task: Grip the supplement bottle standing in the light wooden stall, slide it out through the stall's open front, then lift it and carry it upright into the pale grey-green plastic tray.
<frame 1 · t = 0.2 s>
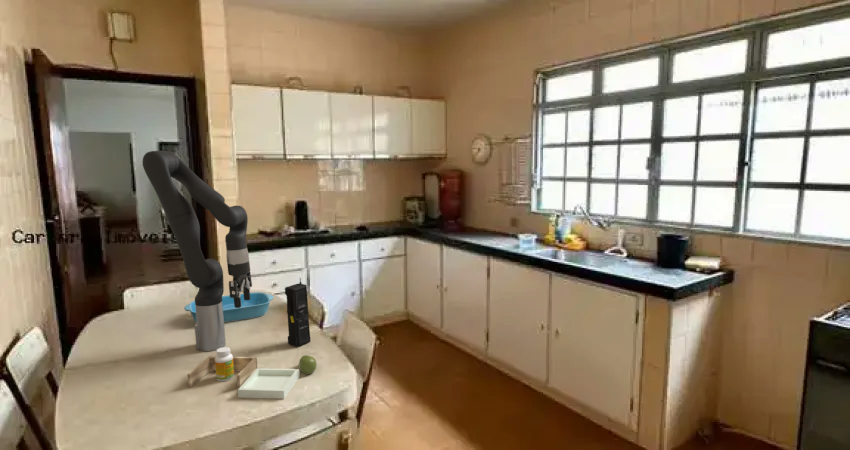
hand: (242, 303, 173), 17 cm above the table, tool pointing down, fingers open, 8 cm apart
pear: (307, 370, 158), on the table
plastic tray: (270, 386, 146), on the table
wooden stall: (223, 379, 151), on the table
supplement bottle: (225, 378, 153), on the table
casserole dish: (231, 316, 211), on the table
portable radio: (298, 344, 179), on the table
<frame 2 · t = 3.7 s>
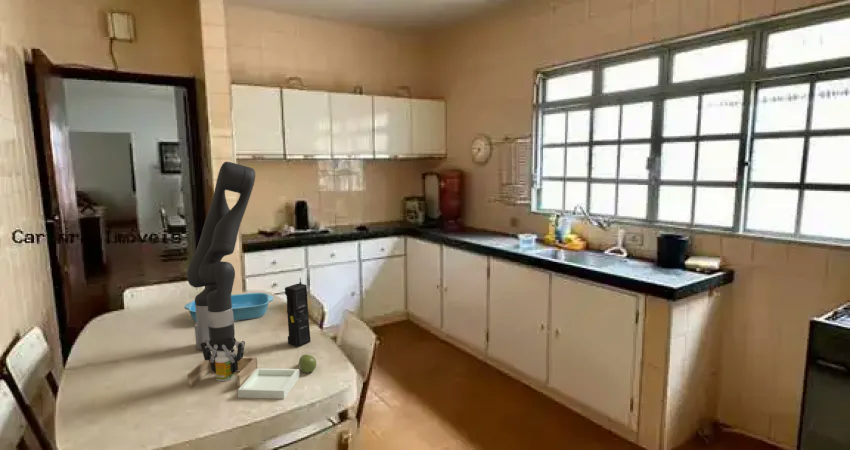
hand: (225, 371, 152), 2 cm above the table, tool pointing down, fingers closed on supplement bottle, 5 cm apart
supplement bottle: (225, 378, 152), on the table, touching gripper
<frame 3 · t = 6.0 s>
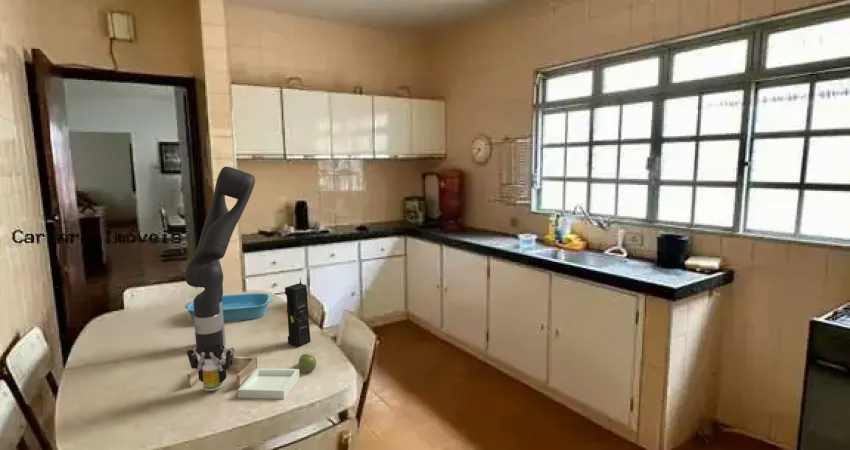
hand: (213, 380, 144), 3 cm above the table, tool pointing down, fingers closed on supplement bottle, 5 cm apart
supplement bottle: (213, 387, 144), point 1 cm above the table, touching gripper
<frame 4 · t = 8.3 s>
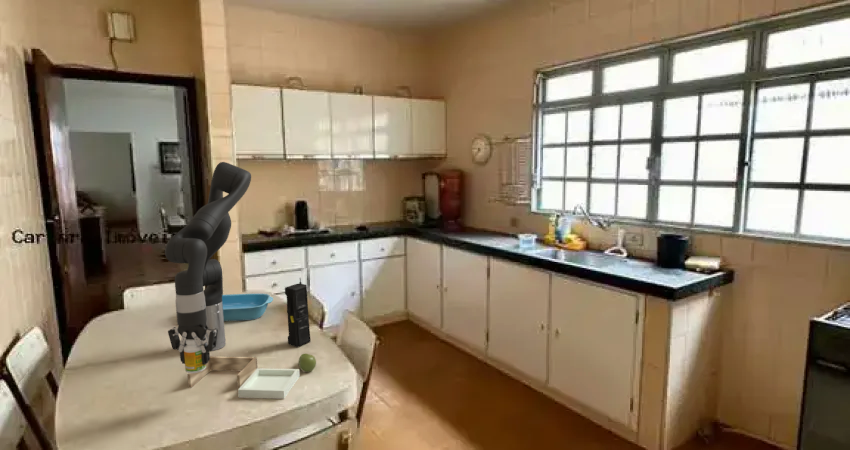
hand: (195, 362, 136), 12 cm above the table, tool pointing down, fingers closed on supplement bottle, 5 cm apart
supplement bottle: (196, 370, 136), point 10 cm above the table, touching gripper
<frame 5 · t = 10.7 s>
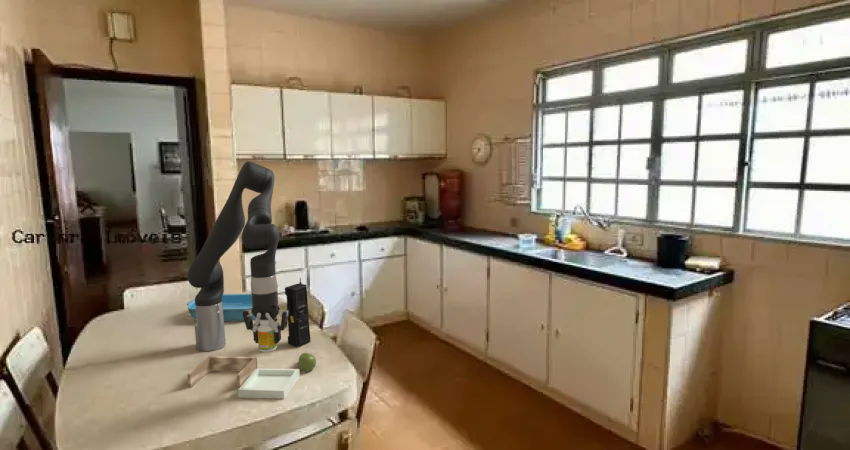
hand: (267, 342, 144), 15 cm above the table, tool pointing down, fingers closed on supplement bottle, 5 cm apart
supplement bottle: (268, 349, 145), point 12 cm above the table, touching gripper
when the fingers open (4 cm above the table, at t = 12.9 s): supplement bottle drops 1 cm, resting on plastic tray.
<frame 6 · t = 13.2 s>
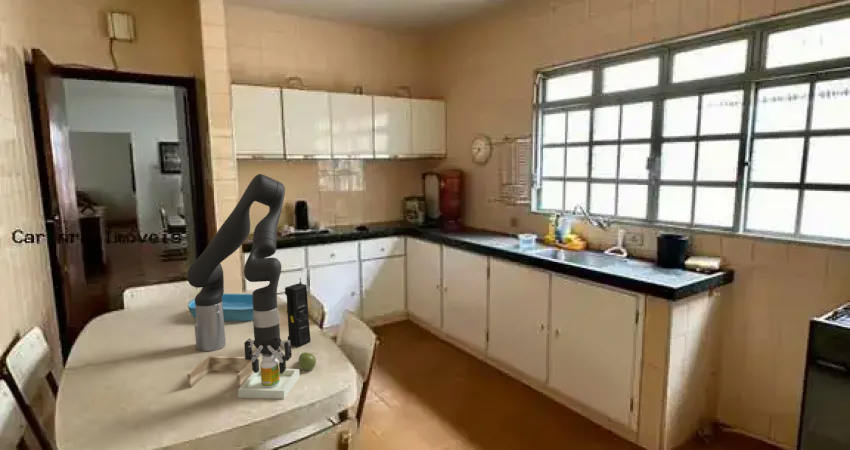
hand: (269, 372, 146), 5 cm above the table, tool pointing down, fingers open, 7 cm apart
supplement bottle: (270, 384, 146), point 1 cm above the table, touching plastic tray
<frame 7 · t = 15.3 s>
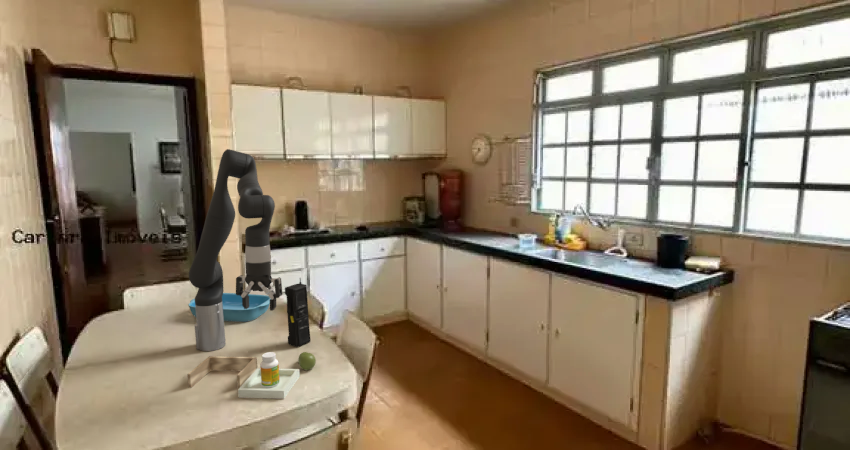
hand: (259, 309, 148), 23 cm above the table, tool pointing down, fingers open, 8 cm apart
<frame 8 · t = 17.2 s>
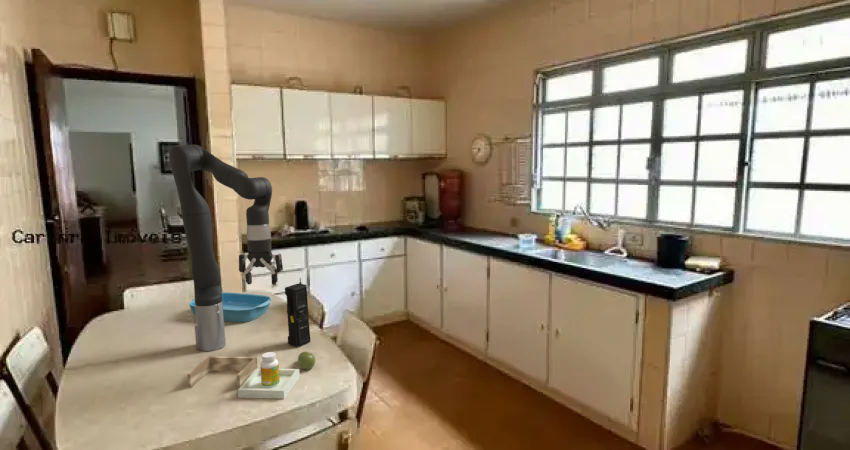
hand: (261, 284, 159), 28 cm above the table, tool pointing down, fingers open, 8 cm apart
at the end: supplement bottle inside the target area on the plastic tray (0.1 cm from its centre), point 0.6 cm above the plastic tray's base; supplement bottle tilted 0°; the gripper is holding nothing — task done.
